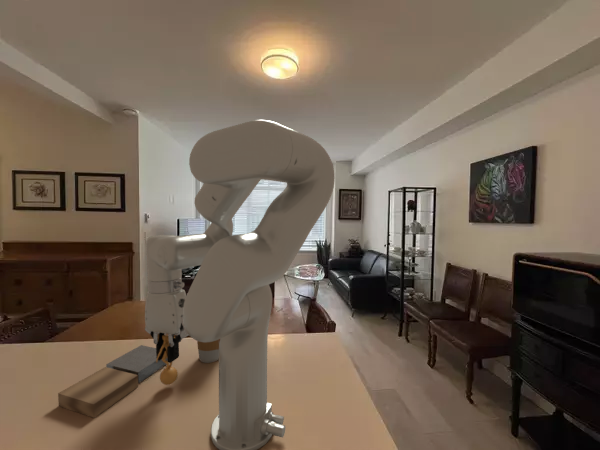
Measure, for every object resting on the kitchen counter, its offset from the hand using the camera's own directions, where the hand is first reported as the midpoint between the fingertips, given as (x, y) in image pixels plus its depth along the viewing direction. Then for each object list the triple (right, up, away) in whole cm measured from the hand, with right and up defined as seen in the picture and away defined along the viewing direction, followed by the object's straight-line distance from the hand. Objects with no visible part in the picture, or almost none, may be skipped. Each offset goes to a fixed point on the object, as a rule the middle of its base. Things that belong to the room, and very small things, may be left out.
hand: (168, 358), depth 70 cm
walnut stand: (-15, -7, -3) cm, 17 cm away
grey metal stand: (-12, -7, +9) cm, 16 cm away
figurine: (+2, -6, 0) cm, 6 cm away
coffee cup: (+6, -7, +14) cm, 17 cm away
